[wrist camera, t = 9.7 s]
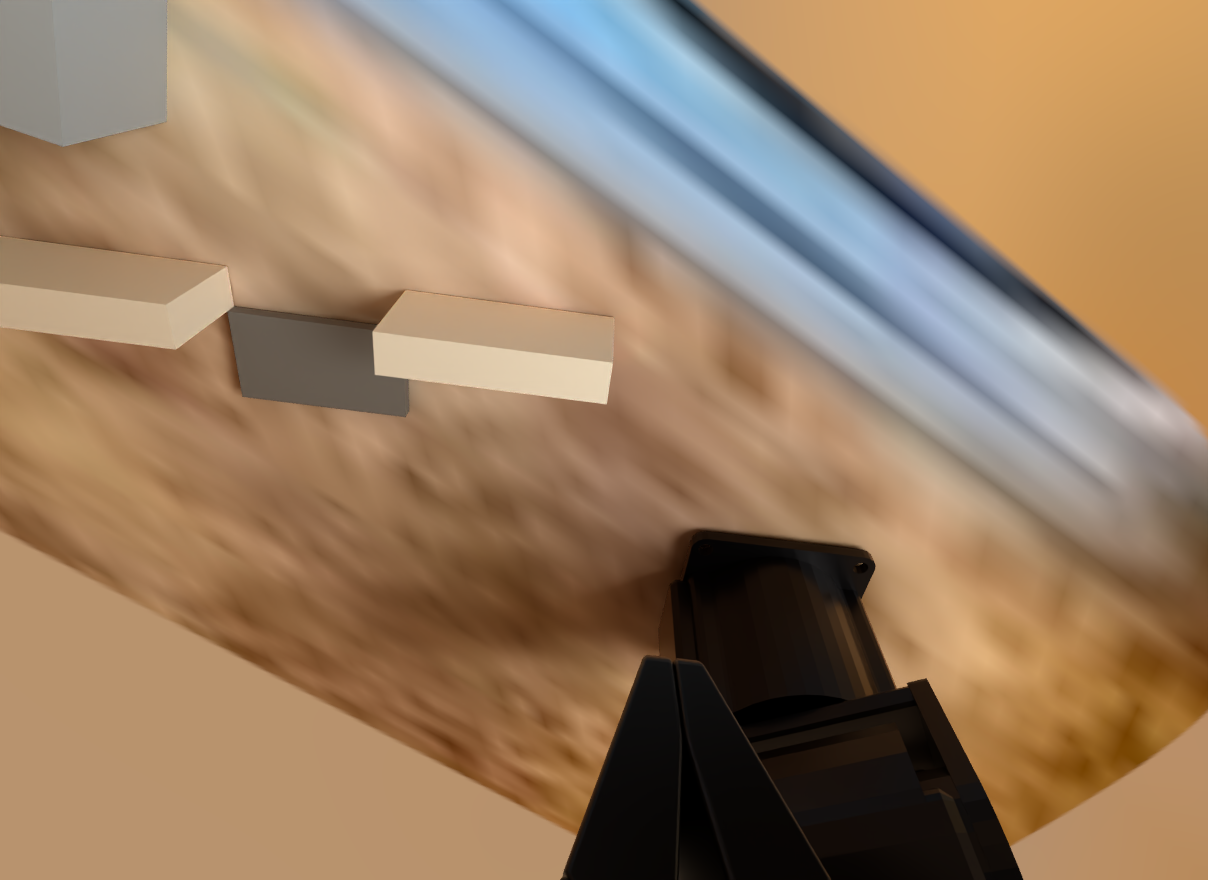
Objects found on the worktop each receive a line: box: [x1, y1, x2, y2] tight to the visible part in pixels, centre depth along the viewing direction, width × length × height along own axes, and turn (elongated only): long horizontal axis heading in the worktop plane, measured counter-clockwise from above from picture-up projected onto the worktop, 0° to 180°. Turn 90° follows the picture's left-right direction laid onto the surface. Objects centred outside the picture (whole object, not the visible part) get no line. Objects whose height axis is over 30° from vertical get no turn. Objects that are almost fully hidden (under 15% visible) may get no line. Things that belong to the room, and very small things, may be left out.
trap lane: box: [0, 236, 615, 404], centre depth 15 cm, size 20×13×3 cm
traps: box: [227, 306, 409, 417], centre depth 16 cm, size 6×22×1 cm, turn 16°
